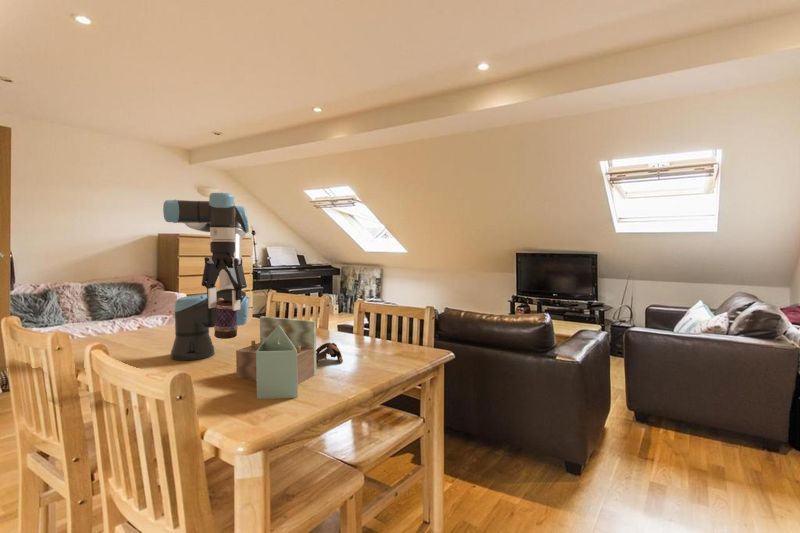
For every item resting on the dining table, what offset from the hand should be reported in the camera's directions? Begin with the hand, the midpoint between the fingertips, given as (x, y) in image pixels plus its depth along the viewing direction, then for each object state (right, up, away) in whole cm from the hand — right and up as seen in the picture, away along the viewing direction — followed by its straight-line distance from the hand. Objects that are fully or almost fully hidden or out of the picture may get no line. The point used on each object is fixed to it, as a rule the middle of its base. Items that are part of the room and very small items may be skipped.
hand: (224, 308), depth 138 cm
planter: (+20, -23, -17) cm, 35 cm away
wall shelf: (+18, -22, -1) cm, 28 cm away
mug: (-1, -9, +1) cm, 9 cm away
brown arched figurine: (+32, -21, +16) cm, 42 cm away
